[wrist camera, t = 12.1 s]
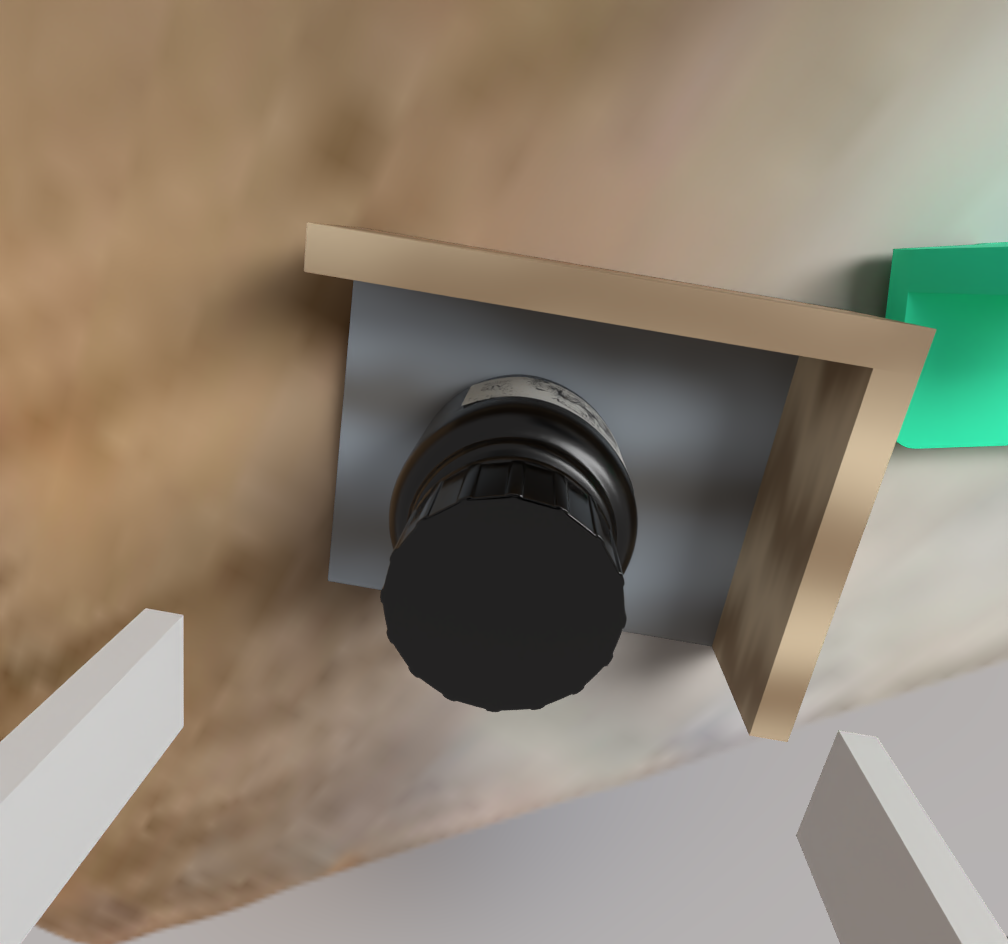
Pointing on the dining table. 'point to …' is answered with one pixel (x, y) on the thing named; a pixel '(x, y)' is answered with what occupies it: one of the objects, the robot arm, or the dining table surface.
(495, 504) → the ink bottle
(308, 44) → the dining table surface
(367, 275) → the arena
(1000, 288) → the camera mount
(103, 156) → the dining table surface
